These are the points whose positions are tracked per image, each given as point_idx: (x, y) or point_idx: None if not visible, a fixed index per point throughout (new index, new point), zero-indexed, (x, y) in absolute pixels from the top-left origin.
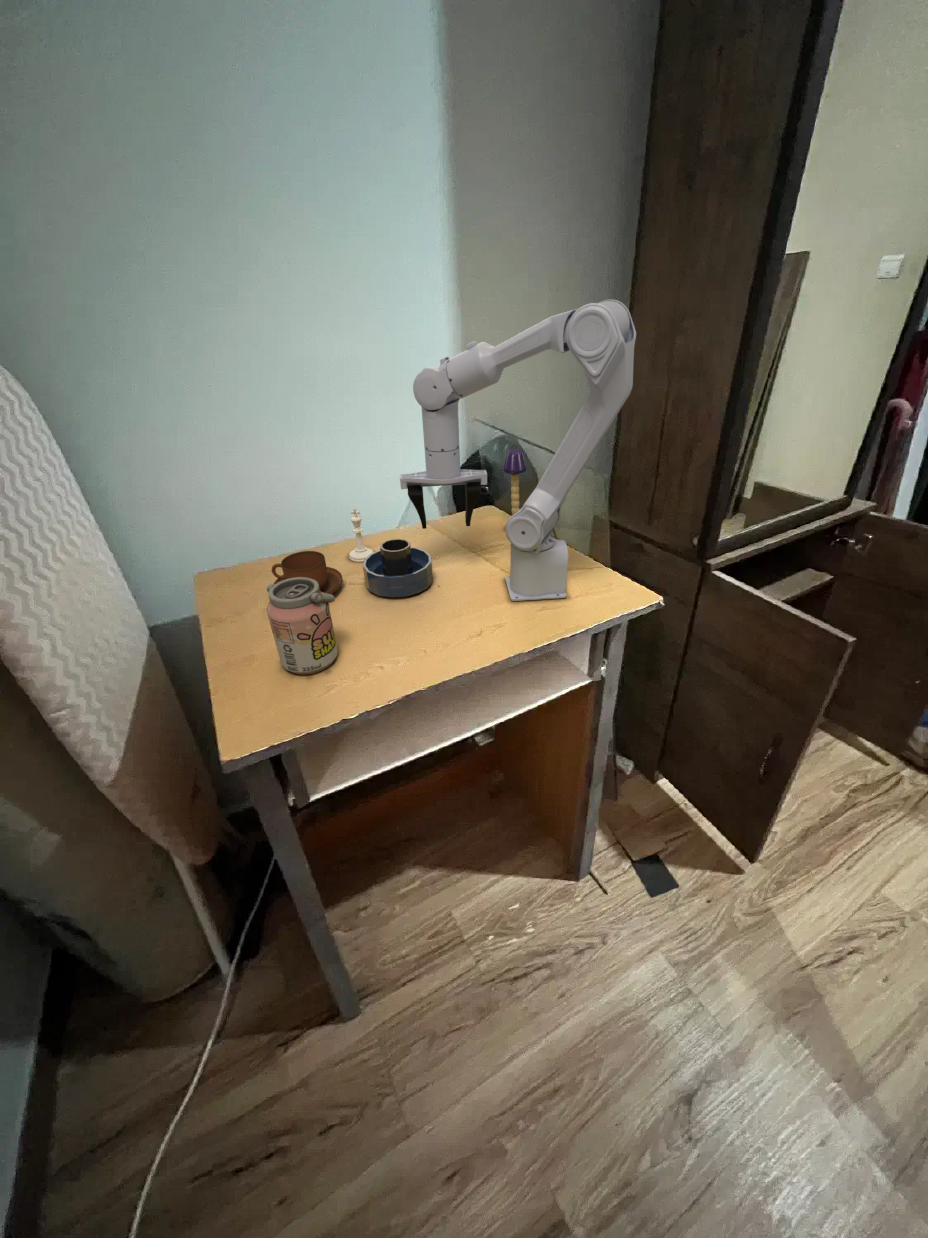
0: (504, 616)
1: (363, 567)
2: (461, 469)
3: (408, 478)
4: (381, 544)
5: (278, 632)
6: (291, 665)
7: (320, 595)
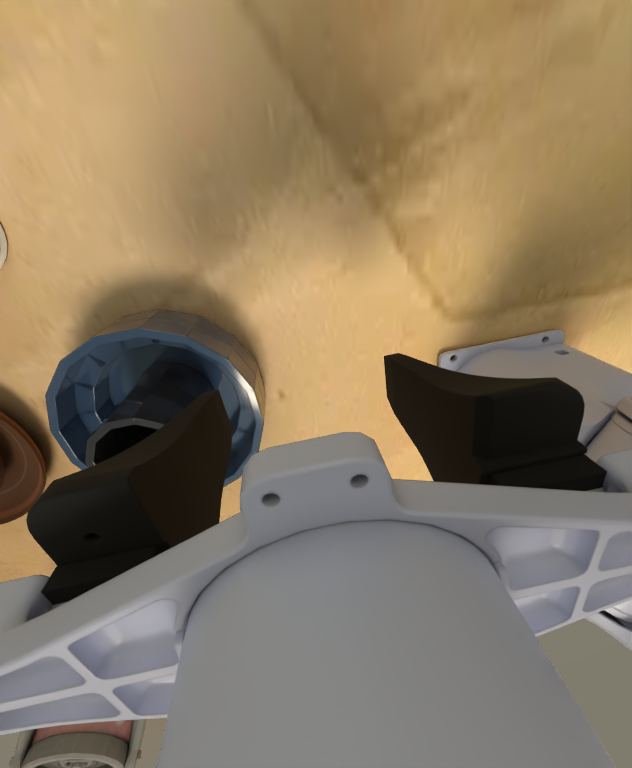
0: (418, 476)
1: (78, 466)
2: (527, 526)
3: (68, 722)
4: (90, 464)
5: None
6: None
7: (136, 760)
